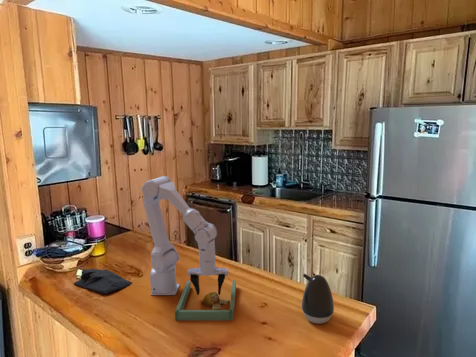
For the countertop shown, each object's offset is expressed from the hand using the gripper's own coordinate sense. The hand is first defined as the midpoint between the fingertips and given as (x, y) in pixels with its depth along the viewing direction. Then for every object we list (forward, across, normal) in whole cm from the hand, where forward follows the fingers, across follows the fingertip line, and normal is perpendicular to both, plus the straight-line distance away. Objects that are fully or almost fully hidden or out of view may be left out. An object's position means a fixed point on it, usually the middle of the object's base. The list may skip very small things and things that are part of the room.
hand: (208, 293), depth 128 cm
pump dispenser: (+3, -37, +12) cm, 39 cm away
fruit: (+3, -3, +3) cm, 5 cm away
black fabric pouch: (+3, +45, -13) cm, 47 cm away
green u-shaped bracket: (+2, 0, +2) cm, 3 cm away
